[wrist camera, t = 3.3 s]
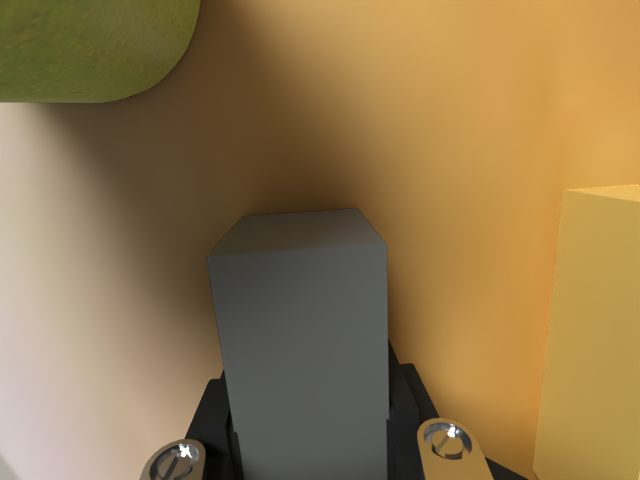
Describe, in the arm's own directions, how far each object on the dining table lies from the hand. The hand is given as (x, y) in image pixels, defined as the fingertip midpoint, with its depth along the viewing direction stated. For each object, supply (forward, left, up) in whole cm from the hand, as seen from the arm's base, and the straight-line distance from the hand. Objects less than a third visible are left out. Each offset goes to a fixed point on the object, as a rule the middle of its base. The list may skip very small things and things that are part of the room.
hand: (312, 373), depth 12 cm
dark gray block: (0, 0, 0) cm, 0 cm away
